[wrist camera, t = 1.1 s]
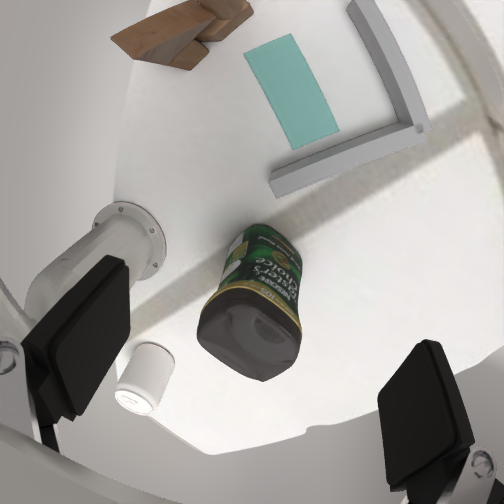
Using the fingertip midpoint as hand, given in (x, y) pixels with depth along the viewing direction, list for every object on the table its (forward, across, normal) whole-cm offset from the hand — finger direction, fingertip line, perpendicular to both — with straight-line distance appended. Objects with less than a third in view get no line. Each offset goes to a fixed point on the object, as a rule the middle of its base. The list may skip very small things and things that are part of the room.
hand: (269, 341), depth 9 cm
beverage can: (+30, +14, +41) cm, 53 cm away
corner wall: (+30, -1, -9) cm, 31 cm away
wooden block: (+30, +13, -13) cm, 35 cm away
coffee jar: (+30, 0, +14) cm, 33 cm away
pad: (+30, +2, -8) cm, 31 cm away
